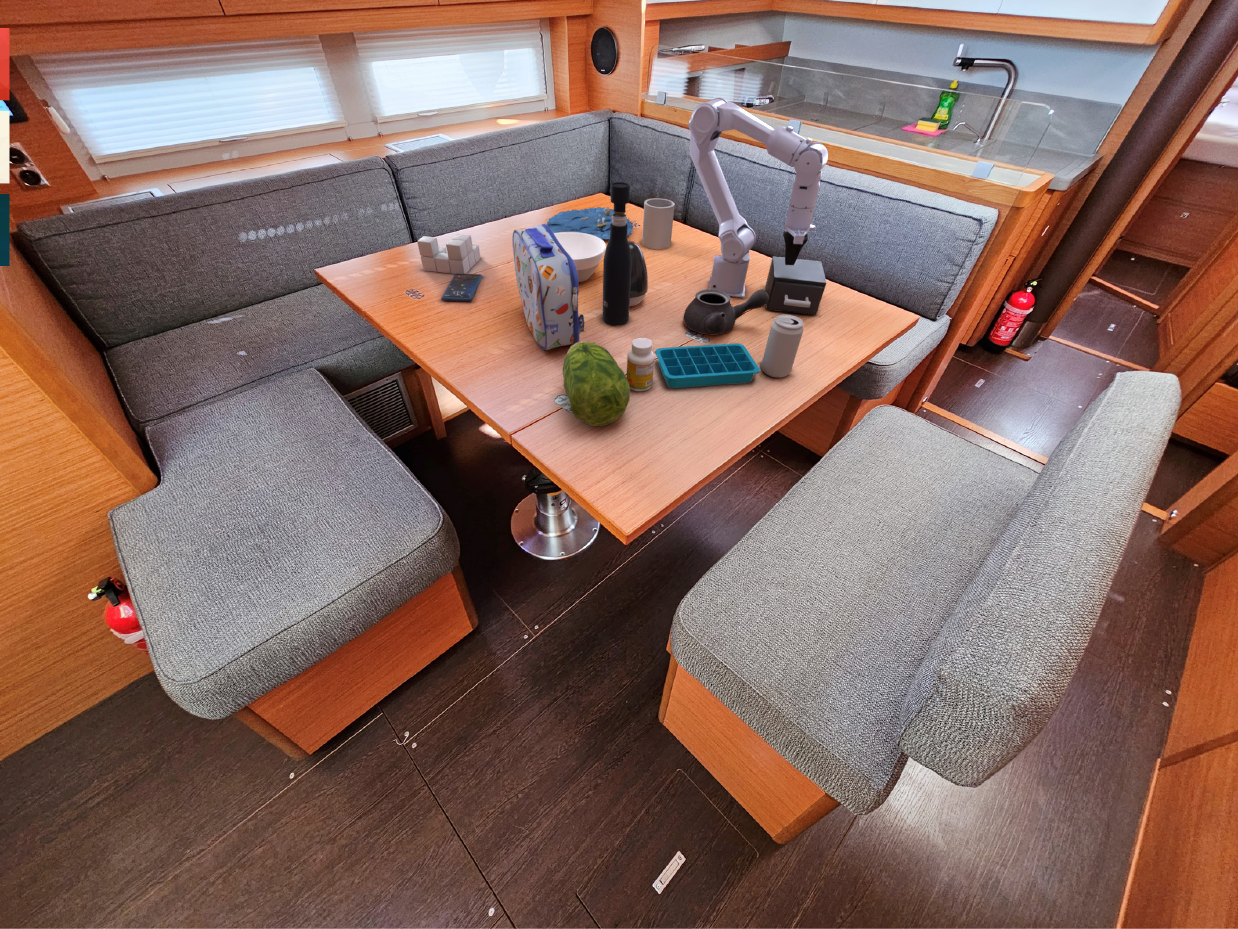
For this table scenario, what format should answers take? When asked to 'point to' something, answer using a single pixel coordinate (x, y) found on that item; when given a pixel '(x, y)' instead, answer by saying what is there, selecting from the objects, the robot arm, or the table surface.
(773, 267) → the cabinet
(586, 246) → the bowl
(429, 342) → the table surface
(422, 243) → the puzzle cube
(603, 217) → the blue sea diorama
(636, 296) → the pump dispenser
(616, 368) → the lettuce
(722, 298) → the teapot
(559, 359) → the table surface
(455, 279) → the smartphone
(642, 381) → the supplement bottle
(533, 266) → the lunch box
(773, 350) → the beverage can
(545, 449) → the table surface
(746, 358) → the ice cube tray
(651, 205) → the cup
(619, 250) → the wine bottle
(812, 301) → the drawer
